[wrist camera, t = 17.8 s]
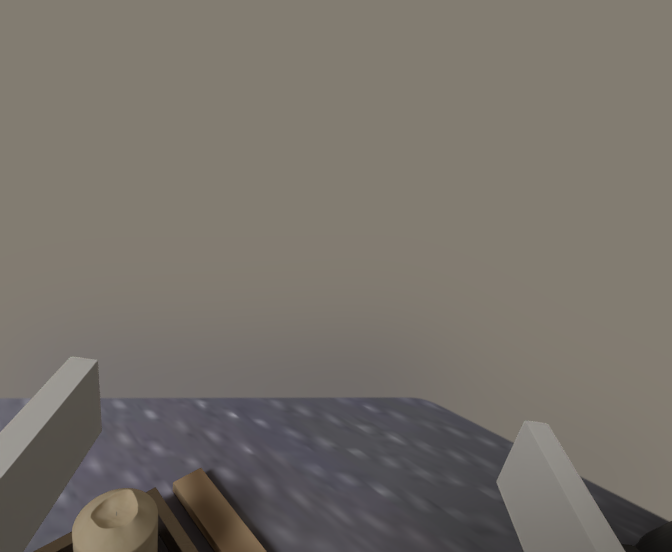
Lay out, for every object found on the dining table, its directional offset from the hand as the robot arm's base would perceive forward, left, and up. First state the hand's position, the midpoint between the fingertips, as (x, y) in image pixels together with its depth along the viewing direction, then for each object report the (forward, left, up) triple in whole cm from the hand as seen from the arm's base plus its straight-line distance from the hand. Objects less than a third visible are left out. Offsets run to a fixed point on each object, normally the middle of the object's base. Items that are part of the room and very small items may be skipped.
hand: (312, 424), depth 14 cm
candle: (0, -16, -30) cm, 34 cm away
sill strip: (-9, -16, -30) cm, 35 cm away
